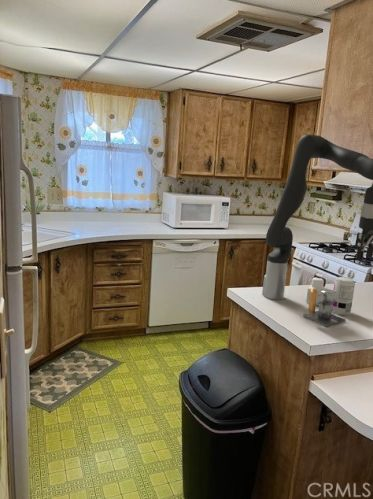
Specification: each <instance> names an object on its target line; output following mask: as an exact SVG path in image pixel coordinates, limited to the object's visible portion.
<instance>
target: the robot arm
mask: <svg viewBox="0 0 373 499" xmlns="http://www.w3.org/2000/svg"><path fill="white" fill-rule="evenodd" d="M311 159H322V160H323V159H324V160H329V161H331V162H333V163H336V164H337V165H338V166H340V167H341V168H343V169H345V170H348V171H351V172H353V173H357V174H358V175H360V176H362V177H363V178H365V179H368V180H371V181H373V158H370V157H369V156H368V155H366V154H364V153H360V152H359V151H355V150H352V149H349V148H344V147H342V146H339V145H337V144H335V143H333V142H331V141H329V140H327V139H326V138H325V137H323V136H321V135H317V134H304V135H302V136H301V137H300V138H299V140H298V142H297V145H296V147H295V151H294V155H293V160H292V164H291V168H290V171H289V174H288V176H287V180H286V183H285V185H284V188H283V191H282V195H281V197H280V201H279V203H278V206H277V208H276V212H275V214H274V216H273V218H272V221H271V223H270V225H269V227H268V229H267V230H266V234H265V241H266V244H267V245H268V247H270V248H274V249H273V250H272V251H271V252H269V254H268V255H267V261H266V267H265V268H266V270H265V275H264V276H263V283H262V291H261V292H262V293H261V295H263V296H264V297H265V298H267V299H271V300H282V299H284V295H285V288H286V287H285V286H286V280H287V270H288V261H289V259H290V257H291V252H292V247H293V240H294V239H293V238H294V235H293V232H292V231H293V230H292V229H291V228H290V227H288V226H287V224H288V222H289V221H290V219H291V217H292V216H293V215H294V214H295V213H297V211H298V210H299V208H300V207H301V206H302V204H303V201H304V198H305V197H306V193H307V188H308V187H307V185H308V184H307V175H306V174H307V169H308V168H307V167H308V165H309V162H310V161H311ZM358 228H359V229H361V232H357V234H356V237H355V243H354V249H355V250H356V257H355V260H356V261H358V262H362V261H363V260H364V254H365V258H367V259H368V258H369V259H372V258H373V182H372V184H371V185H370V187H368V188H366V189H365V192H364V198H363V203H362V206H361V211H360V216H359V223H358ZM366 247H367V248H366ZM365 250H366V253H365Z"/></svg>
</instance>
